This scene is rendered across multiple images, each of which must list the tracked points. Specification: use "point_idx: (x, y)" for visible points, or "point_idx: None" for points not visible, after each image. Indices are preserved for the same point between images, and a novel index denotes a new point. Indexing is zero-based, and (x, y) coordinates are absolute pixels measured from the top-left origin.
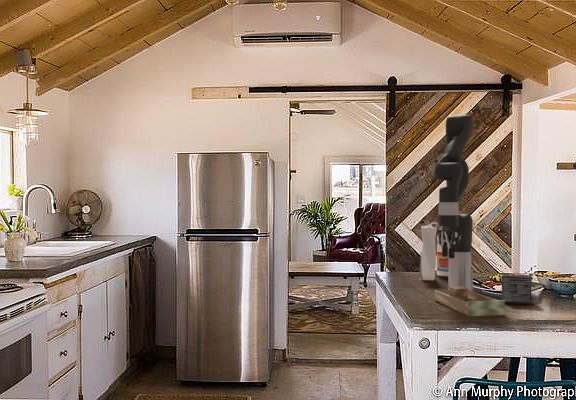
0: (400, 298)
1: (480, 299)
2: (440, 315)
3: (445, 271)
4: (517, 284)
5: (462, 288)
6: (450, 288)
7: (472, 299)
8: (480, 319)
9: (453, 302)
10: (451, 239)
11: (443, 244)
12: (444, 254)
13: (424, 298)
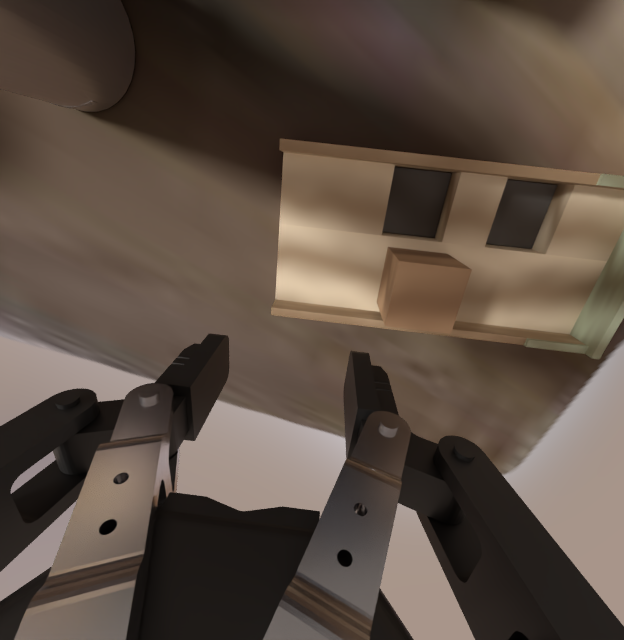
0: None
1: (447, 170)
2: (495, 401)
3: None
4: None
5: (456, 294)
6: (398, 325)
7: (390, 181)
8: None
9: None
10: (475, 625)
11: (178, 462)
12: (221, 371)
13: (234, 314)
